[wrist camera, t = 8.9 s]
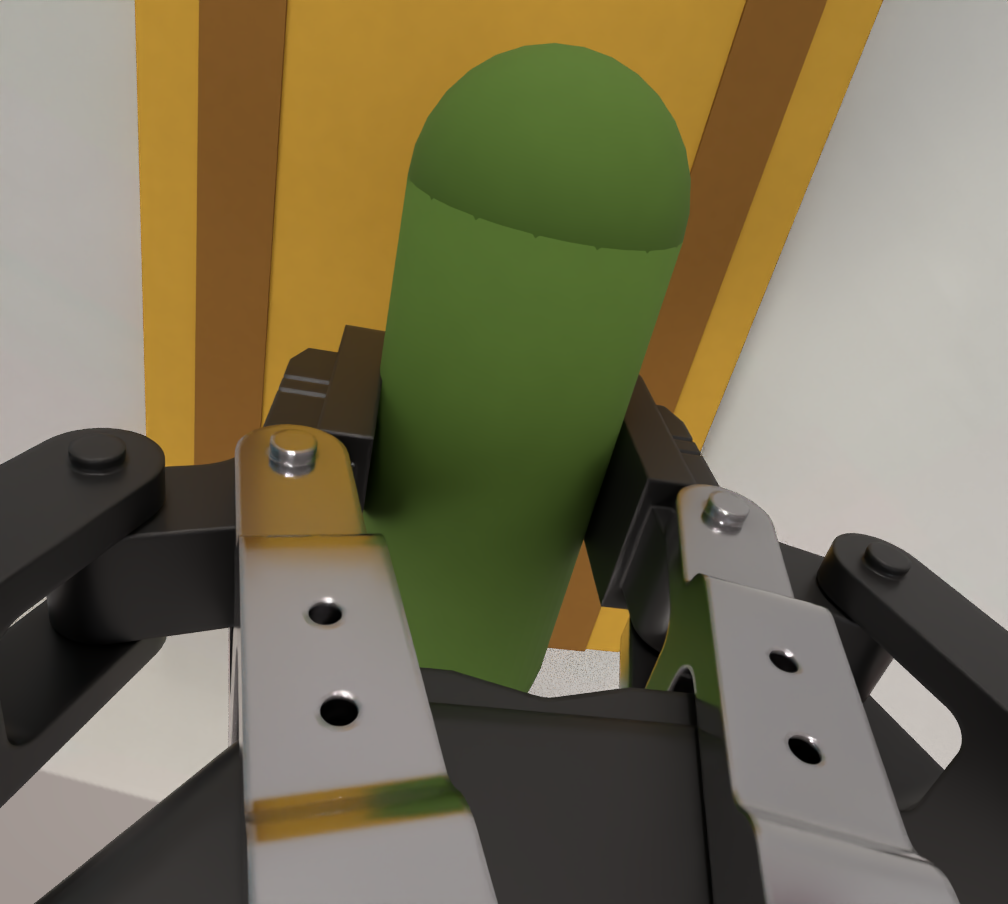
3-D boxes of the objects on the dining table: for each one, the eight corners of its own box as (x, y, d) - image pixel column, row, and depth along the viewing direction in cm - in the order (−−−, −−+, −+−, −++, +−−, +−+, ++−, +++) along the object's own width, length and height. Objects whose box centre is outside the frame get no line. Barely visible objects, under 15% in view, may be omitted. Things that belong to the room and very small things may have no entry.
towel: (156, 592, 23) (149, 607, 22) (133, -486, 12) (118, -512, 11) (616, 639, 25) (620, 655, 24) (953, -210, 14) (975, -218, 14)
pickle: (344, 621, 16) (320, 776, 13) (432, 5, 10) (429, 14, 7) (513, 639, 16) (530, 789, 13) (685, 68, 11) (784, 101, 8)
